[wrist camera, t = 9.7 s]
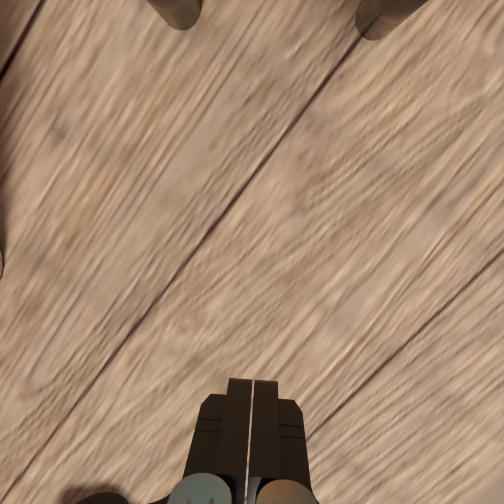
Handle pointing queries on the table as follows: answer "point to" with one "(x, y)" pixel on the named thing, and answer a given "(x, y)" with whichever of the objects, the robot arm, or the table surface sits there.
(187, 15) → the post
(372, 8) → the post
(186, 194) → the table surface
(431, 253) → the table surface
